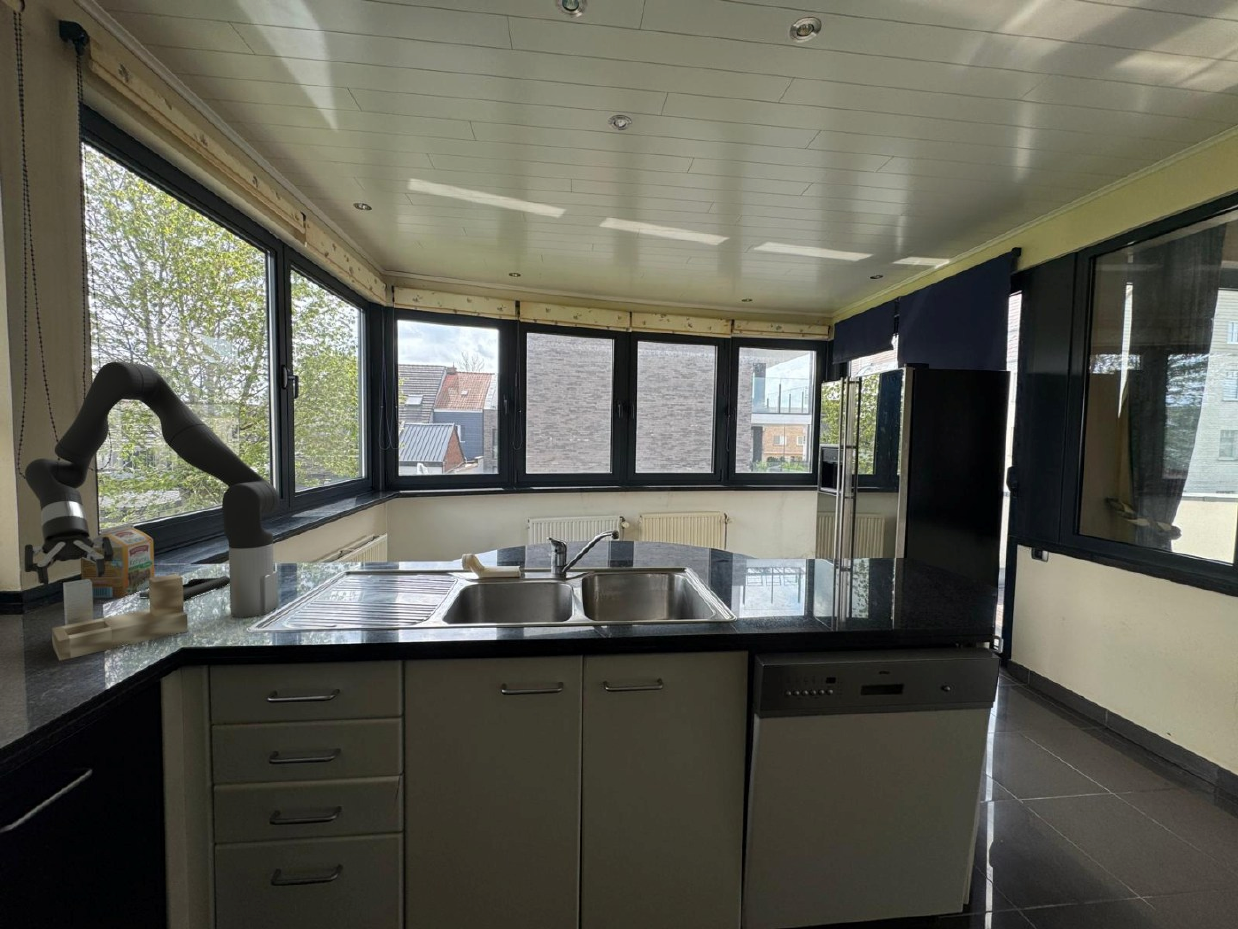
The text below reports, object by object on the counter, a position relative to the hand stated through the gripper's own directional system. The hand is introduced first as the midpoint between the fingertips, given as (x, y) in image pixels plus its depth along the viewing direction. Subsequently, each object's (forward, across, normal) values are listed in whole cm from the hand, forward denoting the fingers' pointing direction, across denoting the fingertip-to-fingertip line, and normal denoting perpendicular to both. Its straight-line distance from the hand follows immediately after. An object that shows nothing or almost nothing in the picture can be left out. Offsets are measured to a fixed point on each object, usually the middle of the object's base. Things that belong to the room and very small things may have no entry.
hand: (74, 579), depth 118 cm
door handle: (-2, +22, +19) cm, 29 cm away
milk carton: (-13, +12, +29) cm, 34 cm away
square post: (+13, 0, +4) cm, 13 cm away
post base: (+20, +6, -3) cm, 21 cm away
